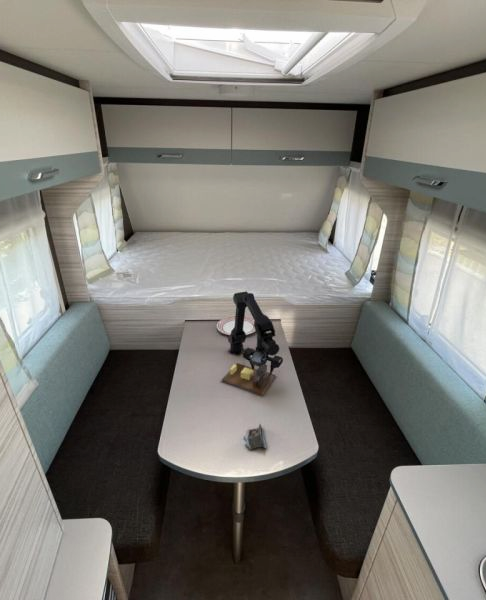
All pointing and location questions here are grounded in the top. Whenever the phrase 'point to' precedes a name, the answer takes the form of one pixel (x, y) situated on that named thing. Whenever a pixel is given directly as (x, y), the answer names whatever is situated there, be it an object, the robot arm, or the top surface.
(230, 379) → the cutting board
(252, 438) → the grey irregular block
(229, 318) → the dinner plate
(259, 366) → the robot arm
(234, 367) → the butter slice
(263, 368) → the dark grey block
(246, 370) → the butter stick
